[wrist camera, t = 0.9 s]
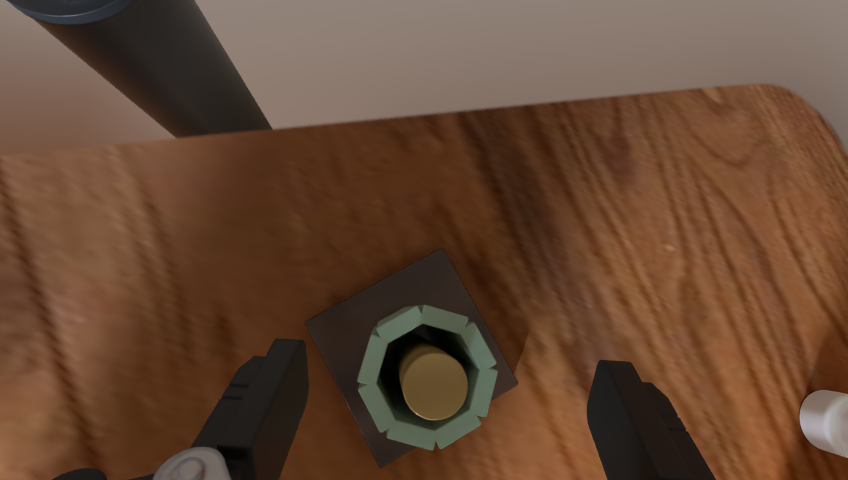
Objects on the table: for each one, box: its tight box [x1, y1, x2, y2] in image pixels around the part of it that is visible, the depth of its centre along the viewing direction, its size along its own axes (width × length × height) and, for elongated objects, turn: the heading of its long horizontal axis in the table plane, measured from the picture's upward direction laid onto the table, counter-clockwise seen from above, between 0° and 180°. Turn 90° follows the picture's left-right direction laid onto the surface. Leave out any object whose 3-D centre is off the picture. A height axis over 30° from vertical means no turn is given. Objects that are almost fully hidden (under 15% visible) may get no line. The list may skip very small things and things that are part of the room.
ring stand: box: [305, 248, 518, 468], centre depth 24 cm, size 10×10×14 cm
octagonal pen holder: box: [357, 305, 498, 451], centre depth 24 cm, size 6×6×10 cm
